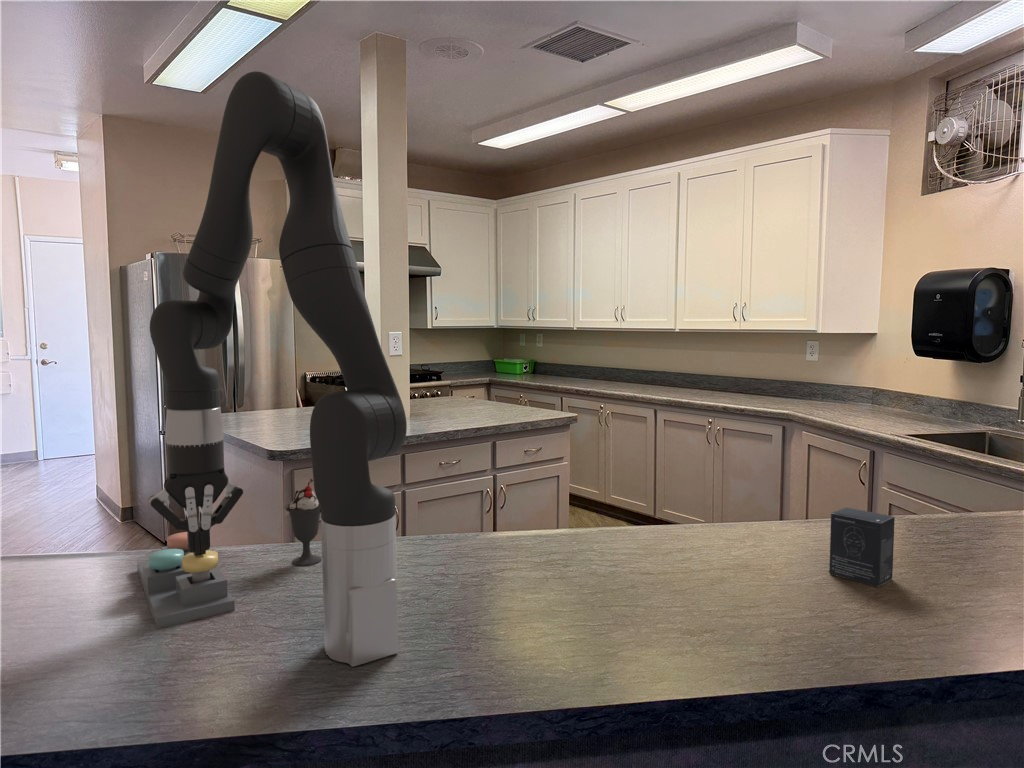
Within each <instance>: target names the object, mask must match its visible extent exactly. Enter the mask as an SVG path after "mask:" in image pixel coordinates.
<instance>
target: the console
mask: <svg viewBox="0 0 1024 768" xmlns="http://www.w3.org/2000/svg"><path fill="white" fill-rule="evenodd" d="M160 548H161V549H160V550H165V549H168V548H167V545H166V546H161V547H160ZM189 553H191V552H190V551H185V552H184V556H185V555H187V554H189ZM136 567H137V573H138V576H139V579H140V582H141V585H142V587H143V592H144V593H145V596H146V600H147V603H148V605H149V609H150V611H151V615H152V617H153V621H154V623H155V626H156V629H161V628H165V627H169V626H170V627H171V626H174V625H177V624H182V623H186V622H190V621H194V620H195V621H196V620H199V619H204V618H208V617H212V616H216V615H221V614H224V613H229V612H233V611H235V609H236V608H235V606H236V605H235V599H234V598H233V596H232V594H231V593H230V592H229V590H228V579H227V578H226V576H225V575H224V573H223V572H222V570H221V569H220V568H219V567H215V568H213V569H211V570H210V581H205V582H200V583H195V584H192V573H191V572H185V571H183V570H182V564H181V565H180V566H177V567H176V569H174V570H168V571H163V572H158V570H155V569H151V568H149V559H148V560H143V561H138V562H136Z"/></svg>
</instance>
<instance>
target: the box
mask: <svg viewBox="0 0 1024 768" xmlns="http://www.w3.org/2000/svg"><path fill="white" fill-rule="evenodd" d="M895 519H896V518H895V516H893V515H887V514H882V513H877V512H872V511H869V510H868V511H867V510H862V509H856V508H852V507H844V508H841V509H838V510H836V511H832V512H831V514H830V537H829V538H830V539H829V540H830V542H829V570H828V571H829V574H830V575H833V576H836V575H837V577H840V578H843V577H844V579H848V580H851V581H854V580H855V581H854V582H858V583H863V584H865V585H869V586H873V587H877V588H879V587H881V585H882V586H883V585H885V584H886V583H888V582H890V581H892V579H893V570H894V569H893V566H894V543H895V539H894V538H895V521H896V520H895Z"/></svg>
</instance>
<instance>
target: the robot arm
mask: <svg viewBox="0 0 1024 768" xmlns="http://www.w3.org/2000/svg"><path fill="white" fill-rule="evenodd" d="M327 136H328V135H327V131H326V126H325V121H324V118H323V115H322V112H321V110H320V107H319V106H318V104H317V103H316V101H315V100H314V99H313V98H312V97H311V96H309V94H307V93H306V92H303V91H302V90H300V89H298V88H296V87H294V86H293V85H290V84H288V83H286V82H284V81H282V80H280V79H278V78H277V77H274V76H273V75H270V74H269V73H268V74H267V73H266V72H263V71H250V72H248V73H247V72H246V74H244V75H242V76H241V77H240V78H238V79H237V81H236V82H235V83H234V85H233V87H232V89H231V91H230V93H229V95H228V97H227V101H226V104H225V109H224V112H223V116H222V121H221V126H220V130H219V137H218V141H217V147H216V150H215V151H216V152H215V155H214V161H213V167H212V172H211V179H210V183H209V190H208V193H207V199H206V203H205V207H204V210H203V214H202V218H201V221H200V224H199V227H198V229H197V232H196V234H195V237H194V240H193V242H192V245H191V247H190V249H189V253H188V255H187V258H186V261H185V263H184V266H183V270H182V277H183V279H184V281H185V283H186V284H187V285H188V286H190V287H191V288H193V289H195V290H197V291H198V292H199V294H198V296H197V299H196V300H182V299H180V300H179V299H169V300H165V301H162V302H159V304H158V305H157V306H156V307H155V308H154V310H153V311H152V314H151V316H150V319H149V320H150V321H149V334H150V338H151V342H152V344H153V348H154V350H155V353H156V356H157V358H158V359H157V360H158V362H159V366H160V369H161V372H162V374H163V377H164V381H165V394H166V395H165V398H166V401H165V402H166V416H165V417H166V418H165V433H164V438H165V442H166V443H165V447H166V470H167V476H166V480H165V481H164V484H163V488H162V490H160V491H159V492H158V493H156V494H154V495H151V496H149V498H148V502H149V504H150V506H151V507H152V508H153V509H154V510H155V511H157V513H158V514H160V515H161V516H162V517H163V518H164V519H165V520H166V521H167V522H168V523H169V524H171V526H173V528H175V530H178V531H180V530H181V531H182V530H183V531H185V532H187V540H188V548H189V550H190V552H191V553H193V554H194V556H199V555H204V554H206V550H210V549H211V534H210V533H211V531H210V530H211V528H212V527H214V526H215V525H220V524H222V523H223V522H224V520H225V519H226V518H227V517H228V515H229V514H230V512H231V511H232V510H233V508H234V507H235V505H236V504H237V503H238V501H239V500H240V499H241V498H242V496H243V494H244V490H243V488H242V487H241V486H239V485H236V484H234V483H232V482H230V480H229V477H228V475H227V474H226V471H225V470H226V469H225V455H224V454H225V448H224V423H223V421H224V420H223V416H222V411H221V409H222V408H221V393H220V391H221V389H220V387H221V384H220V382H221V381H220V376H219V372H218V371H217V370H216V369H214V368H212V367H210V366H205V365H201V364H200V363H199V361H198V359H197V356H196V354H195V353H196V352H195V350H211V349H214V348H217V347H219V346H220V345H222V344H223V342H225V340H226V339H227V338H228V336H229V334H230V332H231V330H232V328H233V327H232V325H233V319H234V311H235V310H234V308H235V300H236V287H237V284H238V282H239V280H240V278H241V275H242V272H243V270H244V267H245V265H246V262H247V261H248V258H249V256H250V252H251V248H252V243H253V239H254V238H253V237H254V235H253V232H254V231H253V230H254V229H253V227H254V226H253V220H252V218H253V217H252V216H253V215H252V210H251V201H250V186H251V178H252V174H253V171H254V169H255V165H256V162H257V161H258V158H259V157H260V155H261V152H262V153H265V154H268V155H271V156H274V157H276V158H277V159H278V160H279V162H280V165H281V167H282V171H283V172H284V176H285V180H286V184H287V188H288V193H289V207H288V210H287V214H286V217H285V220H284V224H283V226H282V229H281V235H280V236H279V237H280V238H279V244H278V245H279V246H278V252H279V260H280V264H281V268H282V271H283V275H284V280H285V282H286V286H287V290H288V294H289V296H290V299H291V301H292V304H293V305H294V307H295V308H296V310H297V312H298V313H299V314H300V315H301V317H302V318H303V319H304V321H306V323H307V325H309V327H310V328H311V329H312V330H313V331H314V332H315V334H316V335H317V336H318V338H320V340H321V341H322V342H323V343H324V345H325V346H326V347H327V349H329V351H330V353H331V354H332V355H333V357H334V359H335V361H336V362H337V364H338V367H339V370H340V372H341V375H342V378H343V381H344V384H345V388H346V390H341V391H340V390H339V391H334V392H329V393H326V394H324V395H323V396H322V397H320V398H319V399H318V400H317V401H316V402H315V404H314V406H313V409H312V412H311V416H310V422H309V441H310V442H309V443H310V444H309V445H310V454H311V455H310V457H311V465H312V468H311V469H312V480H313V481H312V482H313V489H314V493H315V496H316V499H317V500H318V502H319V505H320V509H321V513H320V522H321V523H320V526H321V565H322V571H321V572H322V594H323V595H322V599H323V600H322V601H323V602H322V605H323V606H322V607H323V630H324V631H323V633H324V636H323V637H324V653H325V652H326V653H325V654H326V656H327V655H328V656H329V657H328V656H327V657H328V658H329V659H332V660H334V661H336V662H339V663H344V664H345V663H346V664H348V665H349V666H351V667H357V666H360V665H363V664H364V665H365V664H366V663H367V664H368V663H370V662H373V661H376V660H379V659H382V658H386V657H389V656H393V655H396V654H398V653H399V611H398V610H399V609H398V607H399V606H398V605H399V604H398V603H399V602H398V580H397V523H396V521H397V517H396V498H395V497H396V496H395V493H394V492H393V491H392V490H391V489H389V488H387V487H385V486H379V485H374V484H373V483H372V481H371V476H370V475H371V474H370V467H369V462H371V461H374V460H378V459H383V458H387V457H391V456H392V455H394V454H396V453H397V452H399V451H400V449H401V448H402V447H403V445H404V443H405V441H406V437H407V431H408V430H407V428H408V426H407V425H408V424H407V423H408V422H407V416H406V415H407V414H406V411H405V407H404V404H403V401H402V399H401V396H400V393H399V390H398V388H397V385H396V382H395V380H394V377H393V375H392V372H391V370H390V367H389V365H388V362H387V360H386V357H385V355H384V352H383V349H382V346H381V344H380V341H379V337H378V335H377V331H376V328H375V324H374V321H373V319H372V314H371V311H370V308H369V305H368V302H367V298H366V295H365V291H364V287H363V282H362V279H361V274H360V270H359V267H358V263H357V260H356V256H355V253H354V252H355V251H354V249H353V245H352V242H351V239H350V236H349V233H348V229H347V227H346V222H345V219H344V214H343V211H342V206H341V201H340V199H339V195H338V191H337V186H336V183H335V178H334V173H333V172H334V171H333V168H332V167H333V165H332V160H331V156H330V155H331V154H330V149H329V143H328V137H327ZM222 493H223V495H224V497H223V499H221V502H220V503H219V504H218V506H217V507H216V508H215V510H214V511H213V504H215V503H216V502H217V500H218V499H219V497H220V496H221V495H222ZM169 496H170V497H171V498H172V499H173V500H174V501H175V503H176V504H178V505H179V506H180V507H182V508H183V511H184V517H185V518H181V517H180V516H178V514H176V512H174V511H173V510H172V508H170V507H169V505H170V500H169V498H168V497H169ZM197 508H198V511H197ZM197 512H199V513H197Z"/></svg>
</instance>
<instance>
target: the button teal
mask: <svg viewBox="0 0 1024 768" xmlns="http://www.w3.org/2000/svg"><path fill="white" fill-rule="evenodd" d="M183 556H184V551H183V550H181V549H165V550H161V549H160V550H157V551H154V552H152V553H150V554H149V555H148V560H149V568H151V569H155V570H158V572H163V571H168V570H174V569H176V567H177V566H180V565H181V564H182V557H183Z"/></svg>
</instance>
